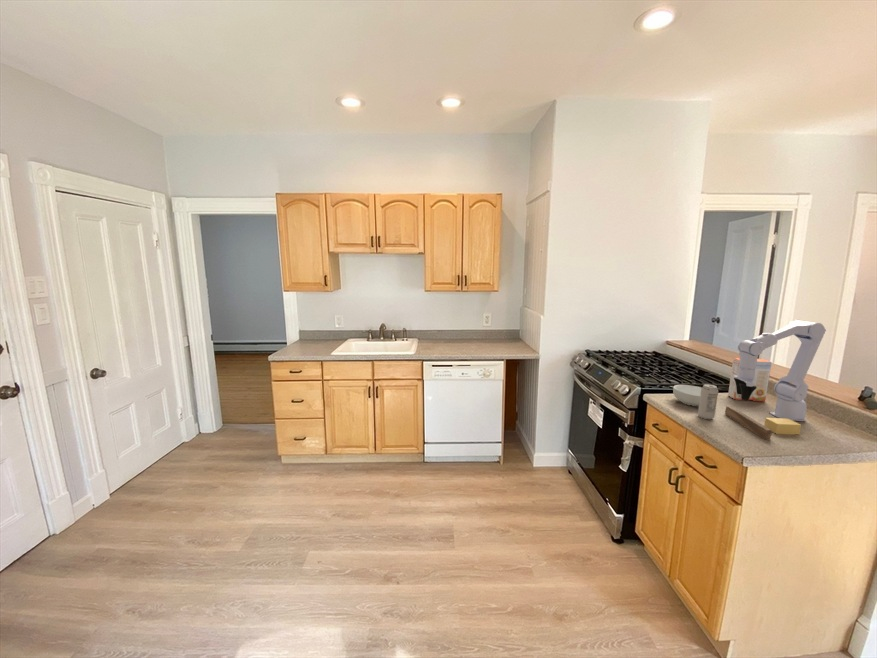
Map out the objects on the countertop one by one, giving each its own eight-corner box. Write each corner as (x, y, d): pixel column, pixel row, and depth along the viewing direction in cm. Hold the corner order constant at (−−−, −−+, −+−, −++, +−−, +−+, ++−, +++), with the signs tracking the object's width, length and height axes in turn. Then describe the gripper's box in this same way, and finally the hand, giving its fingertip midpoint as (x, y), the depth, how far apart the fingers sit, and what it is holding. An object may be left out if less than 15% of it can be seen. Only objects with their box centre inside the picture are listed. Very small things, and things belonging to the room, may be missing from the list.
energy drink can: (707, 414, 165) (711, 383, 162) (717, 420, 159) (722, 388, 156) (694, 414, 165) (698, 383, 162) (704, 420, 159) (709, 388, 156)
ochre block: (786, 428, 152) (788, 418, 151) (799, 435, 146) (801, 424, 145) (763, 427, 152) (765, 417, 152) (775, 434, 147) (777, 424, 146)
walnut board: (729, 414, 165) (731, 406, 164) (770, 439, 142) (771, 430, 141) (724, 414, 165) (726, 406, 165) (764, 439, 142) (766, 429, 141)
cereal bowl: (720, 411, 168) (722, 397, 167) (680, 408, 172) (682, 394, 170) (701, 398, 185) (703, 385, 183) (666, 396, 188) (667, 383, 187)
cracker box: (758, 397, 185) (764, 358, 181) (765, 402, 179) (772, 362, 176) (726, 395, 188) (732, 357, 184) (733, 399, 183) (739, 360, 179)
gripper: (731, 362, 165) (727, 390, 167) (739, 370, 152) (735, 401, 155) (751, 364, 162) (746, 392, 164) (761, 373, 149) (756, 403, 152)
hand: (742, 397), depth 159 cm, fingers open, 7 cm apart
